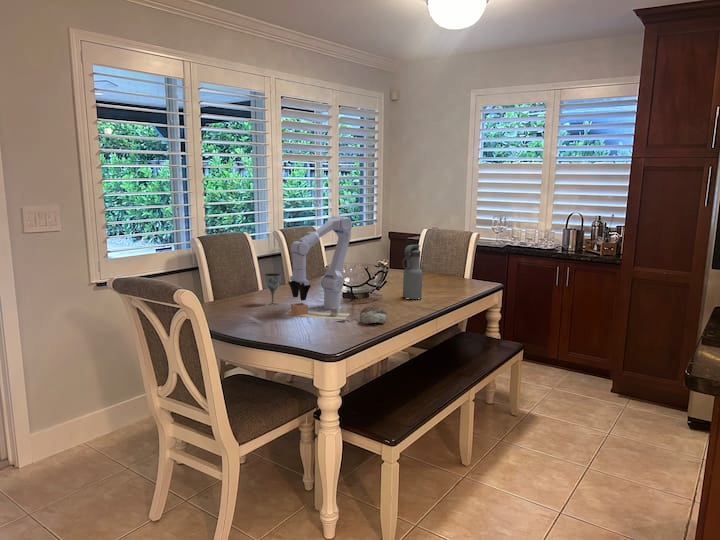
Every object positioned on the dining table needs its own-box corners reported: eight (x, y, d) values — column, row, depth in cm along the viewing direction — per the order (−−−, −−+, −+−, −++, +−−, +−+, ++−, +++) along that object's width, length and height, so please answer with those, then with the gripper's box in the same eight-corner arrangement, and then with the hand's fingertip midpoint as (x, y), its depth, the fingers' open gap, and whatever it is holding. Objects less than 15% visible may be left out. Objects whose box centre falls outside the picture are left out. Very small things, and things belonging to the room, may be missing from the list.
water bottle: (411, 301, 275) (413, 246, 271) (398, 298, 283) (399, 244, 278) (425, 298, 282) (427, 245, 277) (411, 295, 289) (413, 243, 285)
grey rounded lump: (374, 321, 223) (367, 299, 227) (358, 330, 228) (351, 308, 232) (394, 321, 235) (387, 300, 238) (378, 329, 240) (372, 308, 243)
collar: (290, 312, 242) (290, 304, 242) (302, 311, 245) (302, 302, 245) (296, 315, 238) (296, 306, 237) (307, 313, 241) (307, 305, 240)
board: (290, 311, 249) (290, 301, 248) (350, 316, 243) (350, 305, 242) (282, 318, 237) (282, 307, 236) (344, 322, 232) (344, 311, 231)
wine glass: (261, 304, 262) (260, 274, 259) (274, 302, 267) (273, 272, 265) (271, 307, 256) (271, 276, 254) (284, 305, 262) (284, 274, 260)
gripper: (284, 266, 242) (284, 296, 244) (298, 271, 230) (298, 302, 232) (298, 265, 246) (298, 294, 248) (313, 270, 234) (313, 301, 236)
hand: (299, 298), depth 240 cm, fingers open, 7 cm apart
